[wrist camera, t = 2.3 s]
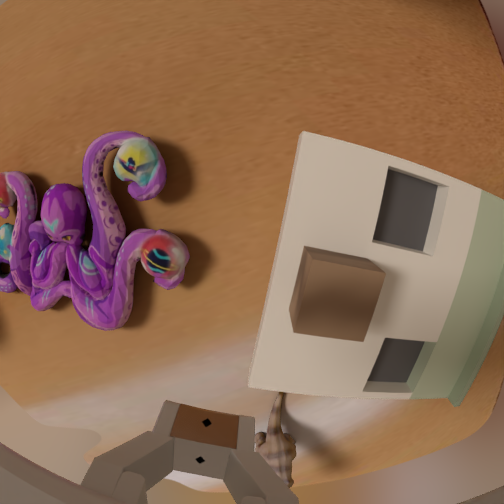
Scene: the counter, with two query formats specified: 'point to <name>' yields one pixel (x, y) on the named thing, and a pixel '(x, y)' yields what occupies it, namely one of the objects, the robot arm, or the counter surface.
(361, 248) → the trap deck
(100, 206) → the decorative sculpture
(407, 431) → the counter surface
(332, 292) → the walnut block
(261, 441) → the toy
